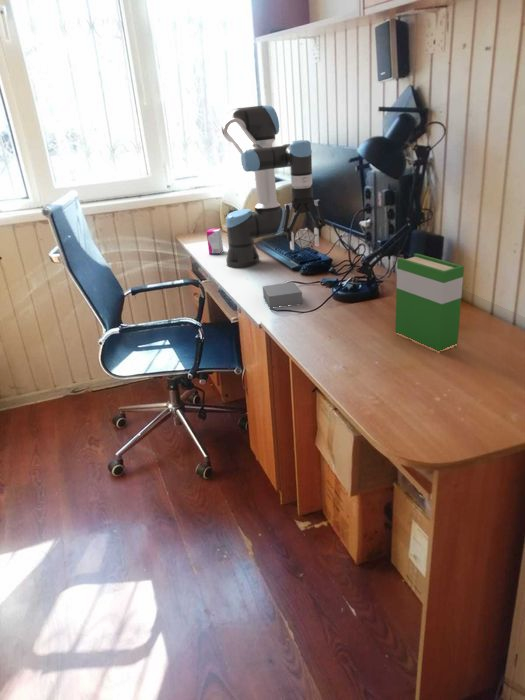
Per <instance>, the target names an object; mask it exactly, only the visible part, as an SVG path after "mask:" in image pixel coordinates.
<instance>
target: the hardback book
mask: <svg viewBox="0 0 525 700" xmlns="http://www.w3.org/2000/svg"><path fill="white" fill-rule="evenodd" d="M396 265H397V266H396V295H395V296H396V297H395V298H396V299H395V331H394V333H395V332H396V333H399V334H402V335H404V336H406V337H408V338H411V339H413V340H415V341H417V342H419V343H421V344H424V345H426V346H428V347H431V348H433V349H435V350H437V351H440V350H443V349H445V348H447V347H450V346H452V345H455V344H457V343H458V341H459V333H460V332H459V331H460V330H459V329H460V320H461V319H460V318H461V308H462V306H461V305H462V295H463V294H462V292H463V285H464V283H463V282H464V271H465V266H464V265H462V264H461V265H460V264H458V263H453V262H451V261H446V260H442V259H439V258H435V257H432V256H431V257H430V256H427V255H425V254H421V253H413V257H409V258H405V259H404V258H402V257H398V258H397V263H396ZM458 344H459V343H458ZM458 344H457V345H458Z"/></svg>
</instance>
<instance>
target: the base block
mask: <svg viewBox="0 0 525 700" xmlns="http://www.w3.org/2000/svg"><path fill="white" fill-rule="evenodd" d="M262 296H263V300H264V299H265V300H264V302H265V303H266V305H267V304H268V305H267V306H268V308H269V307H270V308H273V307H279V306H287V307H289V306H288V305H293V306H298V305H297V304H300V305H303V292H302V290H301V289H300V288H299V287H298V286H297V285H296V283H295V282H294V281H291V282H290V281H289V282H284V283H276V284H270V285H263V286H262ZM270 308H269V309H270ZM273 309H274V308H273Z"/></svg>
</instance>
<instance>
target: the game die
mask: <svg viewBox="0 0 525 700" xmlns="http://www.w3.org/2000/svg"><path fill="white" fill-rule="evenodd" d="M315 236H317V234H316V235H315V234H314V232H313V231H312V230H310V228H309V225H307V226H306V227H303V228H300V229H299V228H296V233H295V236H294V244H295V243H296V245H298V246H299V248H300V251H303V249H306V248H310V247H311V248H312V249H313V248H314V246H313V244H314V242H315Z"/></svg>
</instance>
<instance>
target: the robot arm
mask: <svg viewBox="0 0 525 700" xmlns="http://www.w3.org/2000/svg"><path fill="white" fill-rule="evenodd" d="M278 117H279V116H278V113H277V111H276V110H275V108H274V107H273V106H272V105H262V104H261V105H256V106H248V107H247V106H246V107H237V108H233V109H232V110H230V111H229V112H227V113H226V115H225V116H224V117H223V119H222V123H221V132H222V135H223V137H224V138H225V139H226V140H227V141H228V142H230V143H232V144H233V146H234V147H235V148H236V149H237V151H238V152H239V153H240V161H241V165H242V169H243V171H245V172H254V176H255V180H254V181H255V186H256V187H255V188H256V199H257V200H256V201H257V203H256V204H255V206H254V211H252V209H249V208H244V209H243V208H242V209H238V210H234V211H231V212H230V213H228V214H227V215H226V217H225V228H226V234H227V242H228V243H227V245H228V250H227V255H226V259H225V260H226V261H225V262H226V265H227V266H228V267H230V268H236V269H237V268H248V267H254V266H256V265H258V264H259V263H260V255H259V253H258V251H257V248H256V245H255V239H260V238H264V237H275V236H278V235H281V234H283V233H286V239H287V241H288V242H289V249H290V250H291V251H295V242H294V239H295V236H294V235H295V234H294V231H293V229H294V227H295V225H296V223H297V222H296V221H297V219H298V217H299V216H300V214H303V213H307V214H308V215H309V217H310V218H311V220H312V222H313V224H314V225H315V227H314V228H313V231H314V232H313V233H314V234H315V235H316V234H317V236H315V238H314V245H315V246H316V247H320V238H321V236H322V229H323V227H326V226H327V225H326V221H325V216H324V212H323V209H322V200H320V199H314V195H313V194H314V193H313V192H314V191H313V186H312V185H313V167H312V165H313V162H312V155H313V154H312V153H313V150H312V143H311V141H309V140H307V139H306V140H303V139H302V140H301V139H300V140H292V141H290V143H285V144H283V145H278V146H273V143H274V142H275V141H276V136H277V135H278V134H279V131H280V121H279V118H278ZM289 167H290V178H291V179H290V181H291V184H290V185H291V187H292V188H291V198H292V199H291V202H290V203H284V204H283V207H284V208H283V207H282V205H281V204H280V203H279V202H278V200H277V199H278V198H277V188H276V187H277V186H276V176H275V174H276V173H275V169H282V168H289ZM313 206H315V208H316V212H317V213H316V214H317V216H318V218H317V217H316V215H315V213H314V211H313ZM292 208H293V211H292V215H291V217H290V212H291V210H292ZM318 219H319V220H318Z"/></svg>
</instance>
